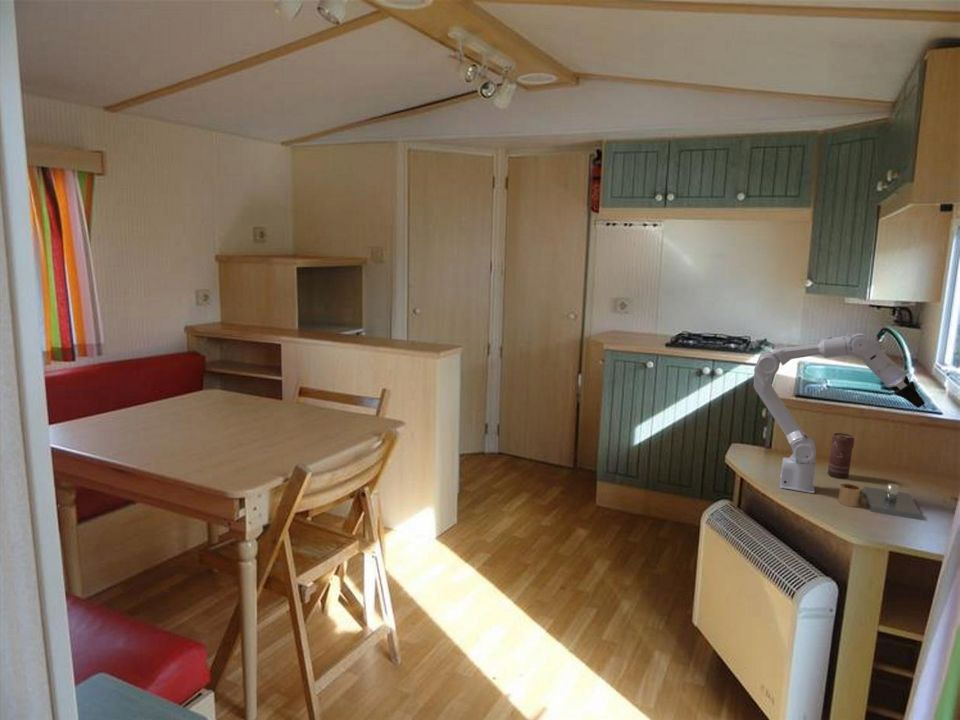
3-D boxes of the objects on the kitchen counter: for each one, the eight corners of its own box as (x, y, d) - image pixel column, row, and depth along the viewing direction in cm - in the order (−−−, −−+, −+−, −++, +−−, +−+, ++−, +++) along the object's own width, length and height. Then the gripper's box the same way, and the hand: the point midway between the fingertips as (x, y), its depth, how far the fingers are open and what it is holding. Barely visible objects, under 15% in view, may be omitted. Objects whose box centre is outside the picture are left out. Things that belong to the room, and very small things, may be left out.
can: (849, 480, 210) (854, 439, 208) (827, 476, 213) (832, 435, 211) (849, 475, 215) (855, 434, 213) (827, 471, 218) (833, 431, 216)
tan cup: (839, 504, 189) (841, 488, 188) (837, 498, 194) (839, 482, 193) (860, 508, 187) (863, 491, 186) (858, 501, 192) (861, 485, 191)
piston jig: (870, 511, 185) (873, 491, 184) (863, 491, 201) (865, 472, 200) (920, 519, 180) (923, 499, 179) (908, 498, 196) (911, 479, 195)
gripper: (899, 361, 180) (937, 398, 177) (891, 355, 193) (926, 390, 190) (876, 377, 183) (913, 414, 180) (870, 370, 196) (905, 405, 193)
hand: (919, 403), depth 185 cm, fingers open, 7 cm apart
